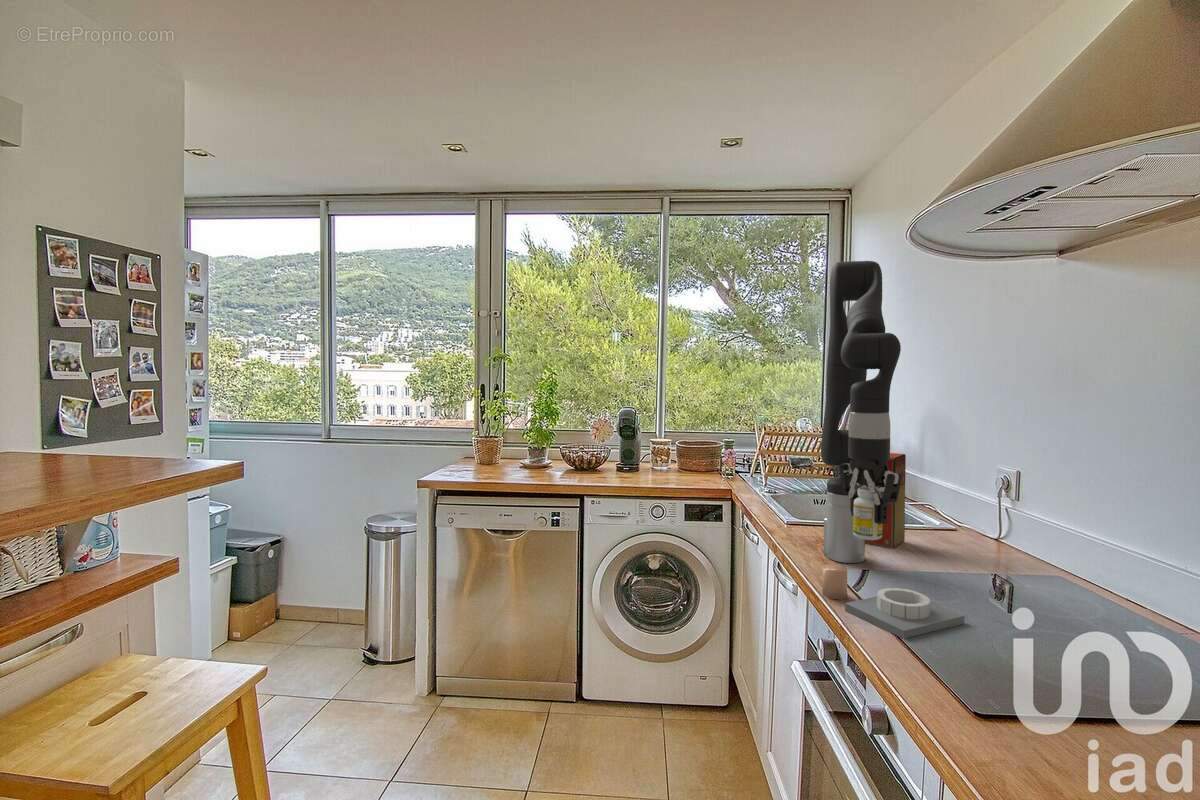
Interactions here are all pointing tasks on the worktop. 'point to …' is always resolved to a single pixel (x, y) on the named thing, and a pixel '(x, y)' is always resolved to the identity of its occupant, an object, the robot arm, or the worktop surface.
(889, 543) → the food packaging
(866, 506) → the supplement bottle
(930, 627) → the collar board
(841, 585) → the peach pill-shaped knob
